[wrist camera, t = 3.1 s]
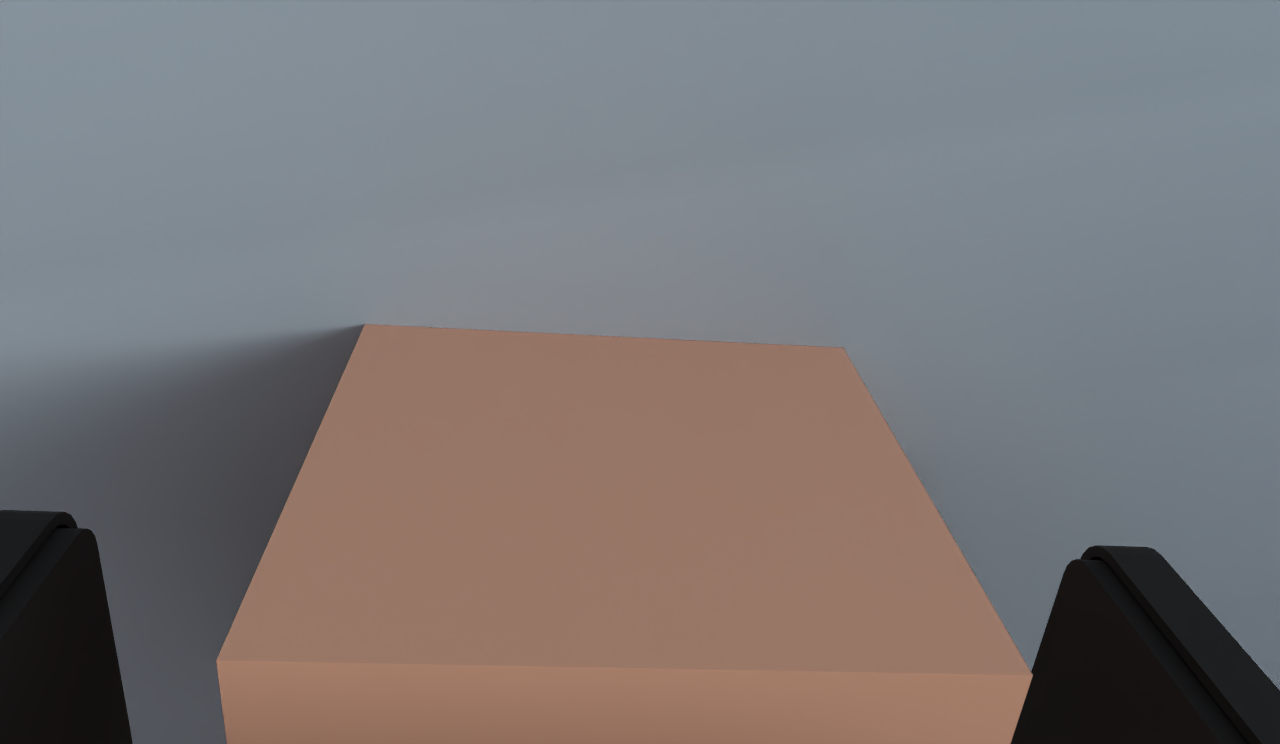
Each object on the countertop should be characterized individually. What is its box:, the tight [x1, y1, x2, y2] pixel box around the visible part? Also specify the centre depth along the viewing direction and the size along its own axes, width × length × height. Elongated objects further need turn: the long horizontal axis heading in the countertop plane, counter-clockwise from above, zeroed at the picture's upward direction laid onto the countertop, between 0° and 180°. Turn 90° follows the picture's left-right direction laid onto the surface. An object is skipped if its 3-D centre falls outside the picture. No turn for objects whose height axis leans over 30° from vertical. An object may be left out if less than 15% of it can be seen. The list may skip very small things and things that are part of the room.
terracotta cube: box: [216, 324, 1033, 744], centre depth 10 cm, size 5×5×5 cm
